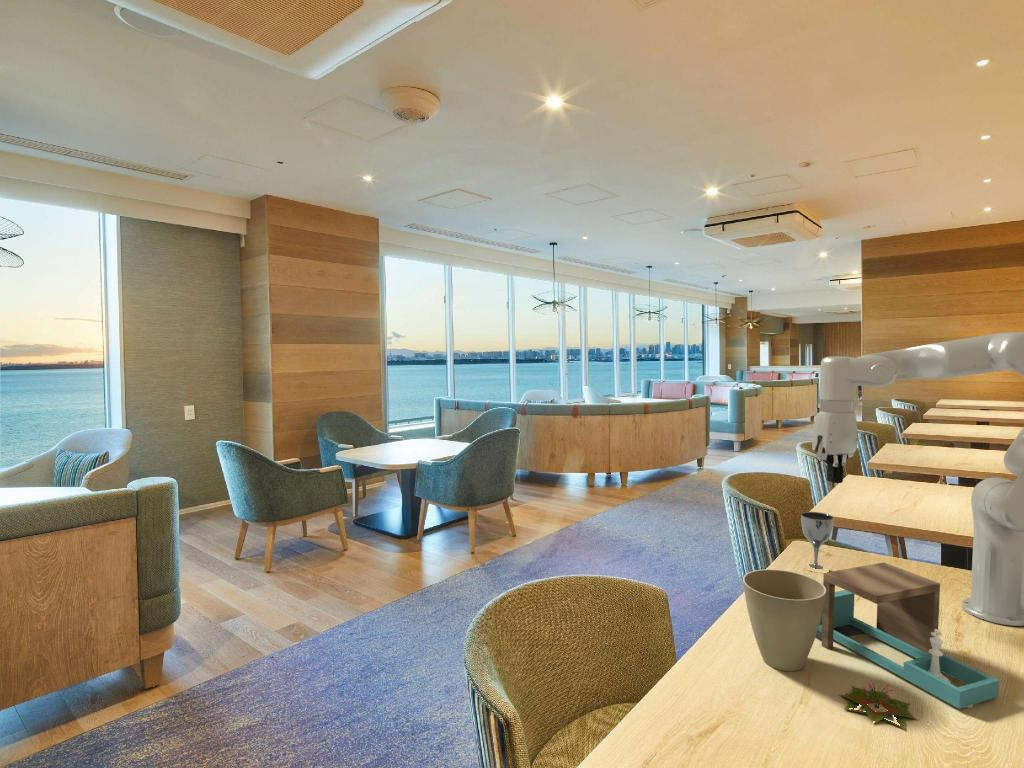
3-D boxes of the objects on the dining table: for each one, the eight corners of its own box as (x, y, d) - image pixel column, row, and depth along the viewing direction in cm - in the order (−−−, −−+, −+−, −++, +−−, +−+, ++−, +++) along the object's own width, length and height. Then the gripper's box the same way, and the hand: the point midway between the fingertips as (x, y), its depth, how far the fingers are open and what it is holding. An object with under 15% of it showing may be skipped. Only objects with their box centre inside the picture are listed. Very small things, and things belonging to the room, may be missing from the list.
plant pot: (759, 635, 127) (761, 563, 126) (834, 661, 117) (837, 583, 116) (728, 661, 117) (729, 583, 116) (807, 692, 106) (809, 607, 105)
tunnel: (838, 610, 139) (840, 546, 138) (936, 659, 117) (940, 583, 116) (781, 622, 133) (782, 555, 132) (873, 675, 112) (876, 596, 111)
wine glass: (832, 566, 166) (834, 514, 165) (830, 575, 160) (832, 521, 159) (801, 561, 171) (803, 510, 170) (798, 570, 164) (799, 517, 163)
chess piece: (957, 689, 107) (960, 636, 106) (930, 689, 107) (932, 636, 106) (937, 674, 112) (940, 623, 111) (912, 674, 112) (914, 623, 111)
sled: (845, 619, 133) (846, 589, 132) (998, 696, 104) (1000, 658, 103) (811, 627, 130) (812, 596, 129) (959, 708, 100) (960, 669, 100)
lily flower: (843, 682, 110) (844, 658, 110) (921, 706, 103) (922, 680, 103) (831, 714, 101) (832, 688, 101) (916, 742, 94) (917, 715, 93)
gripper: (846, 404, 149) (844, 476, 150) (800, 407, 144) (798, 481, 145) (873, 407, 142) (871, 482, 143) (826, 410, 137) (824, 488, 138)
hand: (834, 481), depth 144 cm, fingers closed
